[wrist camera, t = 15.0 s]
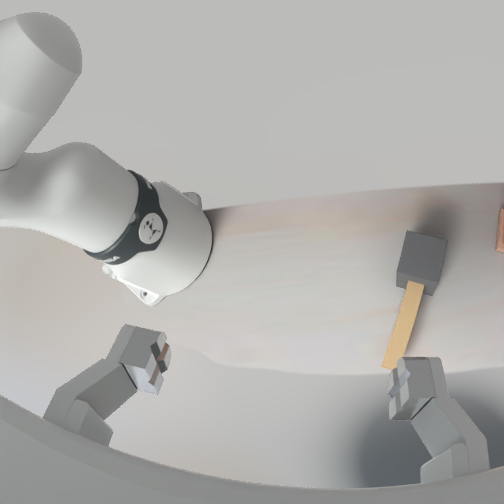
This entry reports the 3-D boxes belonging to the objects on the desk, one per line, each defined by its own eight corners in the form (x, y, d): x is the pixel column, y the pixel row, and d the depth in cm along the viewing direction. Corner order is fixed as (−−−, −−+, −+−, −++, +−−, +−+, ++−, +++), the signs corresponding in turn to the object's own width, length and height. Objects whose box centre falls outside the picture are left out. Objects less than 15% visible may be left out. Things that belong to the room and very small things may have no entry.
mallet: (371, 362, 32) (367, 362, 27) (405, 250, 34) (406, 230, 29) (407, 374, 30) (410, 376, 25) (440, 259, 32) (447, 240, 27)
